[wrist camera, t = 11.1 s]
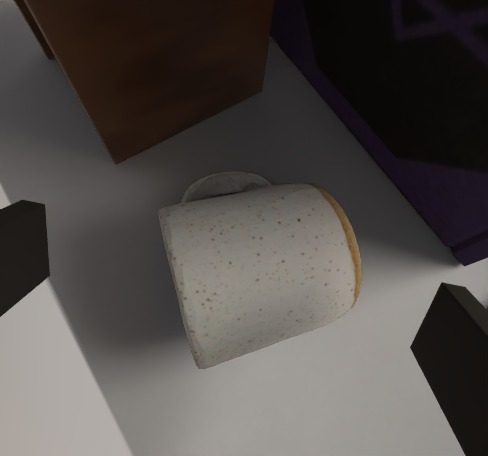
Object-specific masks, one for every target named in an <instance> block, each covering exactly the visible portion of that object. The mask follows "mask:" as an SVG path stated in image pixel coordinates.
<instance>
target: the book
mask: <svg viewBox="0 0 488 456" xmlns="http://www.w3.org/2000/svg"><path fill="white" fill-rule="evenodd" d="M270 34H271V35H272V36H273V38H274V39H275V40H276V41H277V42H278V44H279V45H280V46H281V47H282V48H283V50H284V51H285V52H286V53H287V54H288V56H289V57H290V58H291V59H292V60H293V62H294V63H295V64H296V65H297V66H298V68H299V69H300V70H301V71H302V72H303V74H304V75H305V76H306V77H307V78H308V80H309V81H310V82H311V83H312V84H313V86H314V87H315V88H316V89H317V90H318V92H319V93H320V94H321V95H322V96H323V98H324V99H325V100H326V101H327V102H328V104H329V105H330V106H331V107H332V108H333V110H334V111H335V112H336V113H337V114H338V116H339V117H340V118H341V119H342V120H343V122H344V123H345V124H346V125H347V126H348V128H349V129H350V130H351V131H352V132H353V134H354V135H355V136H356V137H357V138H358V140H359V141H360V142H361V143H362V144H363V146H364V147H365V148H366V149H367V150H368V152H369V153H370V154H371V155H372V156H373V158H374V159H375V160H376V161H377V162H378V164H379V165H380V166H381V167H382V168H383V170H384V171H385V172H386V173H387V174H388V176H389V177H390V178H391V179H392V180H393V182H394V183H395V184H396V185H397V186H398V188H399V189H400V190H401V191H402V192H403V194H404V195H405V196H406V197H407V198H408V200H409V201H410V202H411V203H412V204H413V206H414V207H415V208H416V209H417V210H418V212H419V213H420V214H421V215H422V216H423V218H424V219H425V220H426V221H427V222H428V224H429V225H430V226H431V227H432V228H433V230H434V231H435V232H436V233H437V234H438V236H439V237H440V238H441V239H442V240H443V242H444V243H445V244H446V245H448V246H451V247H453V254H454V255H455V256H456V257H457V258H458V260H459V261H460V262H461V263H462V264H463V266H467V265H469V264H472V263H475V262H477V261H480V260H482V259H485V258H488V0H275V3H274V10H273V17H272V24H271V31H270Z"/></svg>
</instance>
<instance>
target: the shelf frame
mask: <svg viewBox="0 0 488 456" xmlns="http://www.w3.org/2000/svg"><path fill="white" fill-rule="evenodd" d="M14 2H15V3H16V5H17V7H18V8H19V10H20V12H21V14H22V15H23V17H24V19H25V20H26V22H27V24H28V26H29V27H30V29H31V31H32V32H33V34H34V36H35V38H36V39H37V41H38V43H39V45H40V46H41V48H42V50H43V51H44V53H45V54H46V56H47V58H48V59H51V58H54V57H56V59H57V61H58V63H59V65H60V66H61V68H62V70H63V72H64V74H65V76H66V77H67V79H68V81H69V83H70V85H71V86H72V88H73V90H74V92H75V94H76V95H77V97H78V99H79V101H80V103H81V104H82V106H83V108H84V110H85V112H86V114H87V115H88V117H89V119H90V121H91V123H92V124H93V126H94V128H95V130H96V132H97V133H98V135H99V137H100V139H101V141H102V142H103V144H104V146H105V148H106V150H107V152H108V153H109V155H110V156H111V158H112V159H113V161H114V163H115V164H118V163H120V162H122V161H124V160H126V159H128V158H130V157H132V156H134V155H136V154H137V153H139V152H141V151H143V150H145V149H147V148H149V147H151V146H153V145H155V144H157V143H159V142H161V141H163V140H165V139H167V138H169V137H171V136H173V135H175V134H177V133H179V132H181V131H183V130H185V129H187V128H189V127H191V126H193V125H195V124H197V123H199V122H201V121H203V120H205V119H207V118H209V117H211V116H213V115H215V114H217V113H219V112H221V111H223V110H225V109H227V108H229V107H231V106H233V105H235V104H237V103H239V102H241V101H243V100H245V99H247V98H249V97H251V96H252V95H254V94H256V93H258V92H260V91H262V85H263V78H264V71H265V64H266V58H267V51H268V44H269V37H270V31H271V24H272V17H273V10H274V3H275V0H14Z"/></svg>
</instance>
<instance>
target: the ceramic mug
mask: <svg viewBox="0 0 488 456" xmlns="http://www.w3.org/2000/svg"><path fill="white" fill-rule="evenodd" d="M233 192H242V193H237V194H230V195H224V196H218V197H212V198H208V197H211V196H214V195H220V194H228V193H233ZM206 198H207V199H206ZM158 216H159V222H160V226H161V231H162V235H163V240H164V246H165V249H166V253H167V257H168V261H169V266H170V269H171V273H172V278H173V281H174V285H175V289H176V293H177V297H178V302H179V306H180V311H181V315H182V320H183V324H184V327H185V331H186V334H187V337H188V340H189V342H190V347H191V351H192V354H193V357H194V360H195V363H196V365H197V367H198V368H199V369H206V368H209V367H212V366H215V365H217V364H220V363H222V362H225V361H228V360H230V359H233V358H236V357H239V356H242V355H244V354H247V353H250V352H253V351H256V350H259V349H261V348H264V347H267V346H270V345H272V344H275V343H277V342H279V341H282V340H285V339H288V338H291V337H294V336H296V335H299V334H302V333H305V332H308V331H311V330H314V329H317V328H319V327H322V326H325V325H327V324H329V323H330V322H332V321H334V320H335V319H337V318H339V317H341V316H343V315H345V314H346V313H347V312H348V311H349V310H350V309H351V308H352V307H353V306H354V304H355V303H356V300H357V298H358V295H359V293H360V287H361V280H362V268H361V258H360V252H359V247H358V244H357V241H356V237H355V234H354V231H353V229H352V226H351V224H350V222H349V220H348V218H347V216H346V214H345V213H344V211H343V209H342V208H341V207H340V205H339V204H338V203H337V201H336V200H335V199H334V198H333V197H332V196H331V195H330V194H329V193H328V192H326V191H325V190H324V189H322V188H321V187H319V186H316V185H314V184H306V183H289V184H281V185H273V184H272V183H271V182H270V181H268V180H267V179H265V178H264V177H262V176H259V175H256V174H253V173H248V172H240V171H230V172H220V173H215V174H211V175H208V176H205V177H203V178H201V179H199V180H197V181H195V182H194V183H193V184H192V185H190V186H189V187H188V189H187V190H186V192H185V193H184V195H183V197H182V200H181V203H179V204H174V205H168V206H165V207H162V208H160V209H159V212H158Z"/></svg>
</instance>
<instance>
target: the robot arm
mask: <svg viewBox="0 0 488 456" xmlns="http://www.w3.org/2000/svg"><path fill="white" fill-rule="evenodd" d="M49 276H50V272H49V257H48V242H47V228H46V213H45V204H41V203H36V202H31V201H25V200H21V201H18V202H16V203H14V204H12V205H9V206H7V207H5V208H3V209H0V317H1V316H2V315H3V314H4V313H6V312H7V311H8V310H9V309H10V308H12V307H13V306H14V305H15V304H16V303H17V302H19V301H20V300H21V299H22V298H23V297H25V296H26V295H27V294H28V293H29V292H31V291H32V290H33V289H34V288H35V287H36V286H38V285H39V284H40V283H41V282H43V281H44V280H45V279H46V278H47V277H49ZM410 348H411V350H412V352H413V354H414V356H415V358H416V360H417V362H418V364H419V366H420V368H421V370H422V372H423V374H424V376H425V378H426V379H427V381H428V383H429V385H430V387H431V389H432V391H433V393H434V395H435V397H436V399H437V401H438V403H439V405H440V407H441V409H442V411H443V413H444V415H445V416H446V418H447V420H448V422H449V424H450V426H451V428H452V430H453V432H454V434H455V436H456V438H457V440H458V442H459V444H460V446H461V448H462V450H463V452H464V453H465V455H466V456H488V311H487V310H486V309H485V308H484V307H483V305H482V304H481V303H480V302H479V301H478V300H477V299H476V298H475V297H474V296H473V295H472V294H471V293H470V292H469V291H468V290H467V289H466V287H462V286H457V285H452V284H447V283H441V285H440V287H439V289H438V291H437V293H436V295H435V297H434V299H433V301H432V303H431V305H430V307H429V310H428V312H427V314H426V316H425V318H424V320H423V322H422V324H421V326H420V328H419V330H418V332H417V334H416V336H415V339H414V341H413V343H412V345H411V347H410Z"/></svg>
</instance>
